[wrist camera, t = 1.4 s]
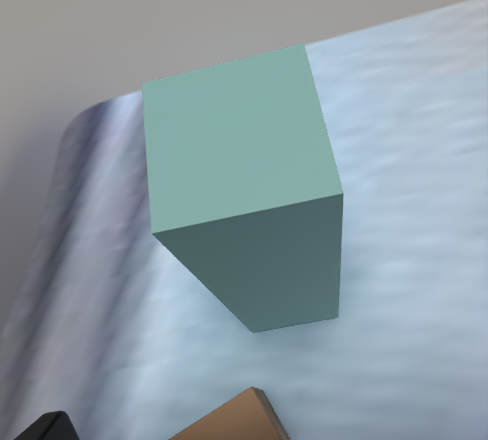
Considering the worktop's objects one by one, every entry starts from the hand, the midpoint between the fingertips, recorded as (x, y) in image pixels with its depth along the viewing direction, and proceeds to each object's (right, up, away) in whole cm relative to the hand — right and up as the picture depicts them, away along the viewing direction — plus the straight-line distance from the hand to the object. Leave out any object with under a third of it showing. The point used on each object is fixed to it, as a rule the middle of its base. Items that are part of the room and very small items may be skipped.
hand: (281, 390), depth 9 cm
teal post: (+1, 0, +13) cm, 13 cm away
